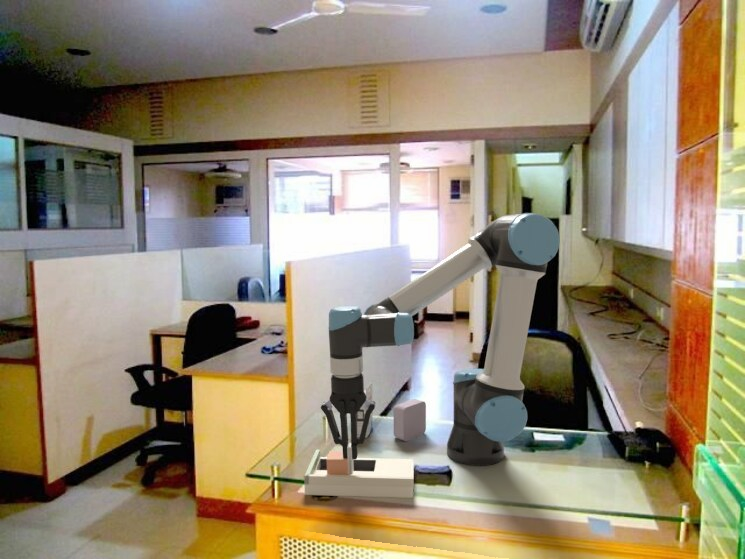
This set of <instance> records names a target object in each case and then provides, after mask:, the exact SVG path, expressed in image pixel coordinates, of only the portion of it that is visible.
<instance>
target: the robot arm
mask: <svg viewBox="0 0 745 559" xmlns="http://www.w3.org/2000/svg"><path fill="white" fill-rule="evenodd" d="M560 242H561V240H560V233H559V231H558V228H557V226H556V225H555V223H554V222H553V221H552V220H551V219H549V218H548V217H547V216H545V215H543V214H539V213H534V212H524V213H518V214H517V213H515V214H514V213H513V214H504V215H503V216H500V217H498V218H496V219H494V220H493V221H492V222H490V223H489V224H488V225H486V226H485V227H484V228H482V229H481V230H479V231H478V232H476V233H475V234H474V235H472V236H471V237H468V240H467V244H466V245H464V246H463V247H461V248H460V249H458V250H457V251H454V253H452V254H451V255H449V256H448V257H446V258H445V259H443V260H442V261H440V262H439V263H437V264H436V265H434V266H432V267H431V268H430V269H428V270H427V271H425V272H423V273H422V274H420V276H418V277H416V278H414V279H412V281H410V282H409V283H407V284H406V285H404V286H403V287H402V288H401V287H400V289H398V290H397V291H395V292H394V293H392V294H391V295H389V296H388V297H386V298H384V299H383V300H382V301H380V302H379V303H373V304H370V305H368V307H366V309H365V310H364V312H363V314H362V311H361V310H362V309H361V308H360V307H358V306H355V305H352V306H348V305H347V306H346V305H345V306H344V305H343V306H336V307H333V308H331V309H330V310H329V312H328V327H327V328H328V340H329V341H328V342H329V362H330V363H329V365H330V367H329V368H330V374H331V376H330V384H331V385H330V386H331V387H330V389H331V392H330V396H329V399H328V400H327V401H323V402H322V404H321V405H320V409H321V411H322V412H323V413H324V415H325V417H326V420H327V423H328V427H329V429H330V433H331V435H332V439H333V442H334V444H335V445H340V446H341V447H342V451H343V458H348V474H353V470H354V463H353V459H357V458H358V454H359V452H358V446H359V445H363V444H364V443H365V435H366V431H367V427H368V423H369V418H370V414H371V413H372V414H373V412H374V410H375V408H376V402H375V401H373V400H372V402H371V401H370V400H368V399H367V398H366V395H365V393H364V390H365V389H364V388H365V387H364V386H365V385H364V381H365V380H364V374H363V371H364V363H363V362H364V359H363V358H364V357H363V356H364V355H363V348H374V347H375V348H376V347H378V348H379V347H393V346H395V347H400V346H404V345H405V346H406V345H411V344H412V343H413V340H414V338H415V337H414V336H415V327H414V326H415V324H414V320H413V316H415V315H416V314H418V313H419V312H420V311H422V310H424V309H425V308H426V307H428V306H430V305H431V304H432V303H434V302H436V301H437V300H439V299H441V297H443V296H445V295H446V294H447V293H449V292H450V291H452V290H454V289H455V288H457V287H458V286H459V285H461V284H462V283H464V282H466V281H467V280H468V279H470V278H472V277H473V276H475V275H476V274H477V273H479V272H481V271H482V270H484V269H487V270H491V269H493V267H495V268H496V269H497V270H498V272H499V275H500V276H499V282H498V287H497V292H496V293H497V294H496V299H495V305H494V309H493V310H494V311H493V315H492V322H491V328H490V332H489V338H488V344H487V350H486V356H485V361H484V367H483V368H467V369H466V368H465V369H460V370H457V371H455V373H454V375H453V382H452V385H453V424H452V425H453V426H452V429H451V431H450V434H449V437H448V440H447V443H446V454H447V456H448V457H449V458H450V459H451V460H453V461H455V462H458V463H460V464H465V465H471V466H490V465H495V464H497V463H499V462H501V461H502V460H503V459H504V456H505V446H504V444H503V442H508V441H511V440H513V439H514V438H516V437H517V436H519V435H520V434H521V433H522V432H523V431H524V429H525V427H526V425H527V421H528V410H527V407H526V406H525V404H524V403H523V399H524V398H523V397H524V391H525V385H524V383H523V382H522V380H521V377H520V376H521V372H522V367H523V361H524V355H525V351H526V350H525V349H526V343H527V339H528V333H529V328H530V322H531V316H532V311H533V306H534V300H535V294H536V290H537V283H538V280H539V279H541V278H542V277H543V276H545V275H546V273H547V272H546V271H547V267H548V262H550V261H551V260H552V259H554V257H556V254H557V253H558V250H559V249H560V248H559V247H560ZM363 404H365V409H366V413H365V417H364V421H363V425H362V430H361V434H360V437H357V412H358V411H359V410H360V408H361V407H362V405H363ZM333 407H334V408H335V410H336V411H337V412H338V413H339V420H340V431H339V428H338V424H337V421H336V418H335V415H334V412H333V410H332V409H333ZM348 414H349V415H350V417H349V418H350V442H349V430H348V429H349V428H348Z"/></svg>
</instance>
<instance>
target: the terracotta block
mask: <svg viewBox="0 0 745 559" xmlns="http://www.w3.org/2000/svg"><path fill="white" fill-rule="evenodd" d="M326 457H327V459H326V460H327V475H350V474H348V458H343V450H329V452H328V454H327V456H326Z"/></svg>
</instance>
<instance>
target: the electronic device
mask: <svg viewBox="0 0 745 559" xmlns="http://www.w3.org/2000/svg"><path fill="white" fill-rule="evenodd" d="M426 429H427V404H426V402H425V401H423V400H419V399H416V398H413V399H410V400H407V401H403V402H402V403H399V404H396V405H394V407H393V437H395V439H398V440H401V441H403V442H408V441H412V440H413V439H415V438H418V437H420V436H422V435H424V434H425V432H426Z"/></svg>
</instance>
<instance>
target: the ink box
mask: <svg viewBox="0 0 745 559" xmlns="http://www.w3.org/2000/svg"><path fill="white" fill-rule="evenodd" d="M364 393H365V395H366V398H367V399H368V400H370V401H371V402H372V401H373V381H370V383H369V384H368V385H367V387H366V389H364ZM365 413H366V409H365V404H363V405H362V407H361V408H360V410H359V411H358V412H357V437H360V434H361V430H362V425H363V421H364V417H365ZM373 419H374V418H373V412H372V413H371V414H370V418H369V423H368V427H367V431H366V435H365V438H368V437H369V435H370V433H371V431H372V430H373V427H372V426H373Z"/></svg>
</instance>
